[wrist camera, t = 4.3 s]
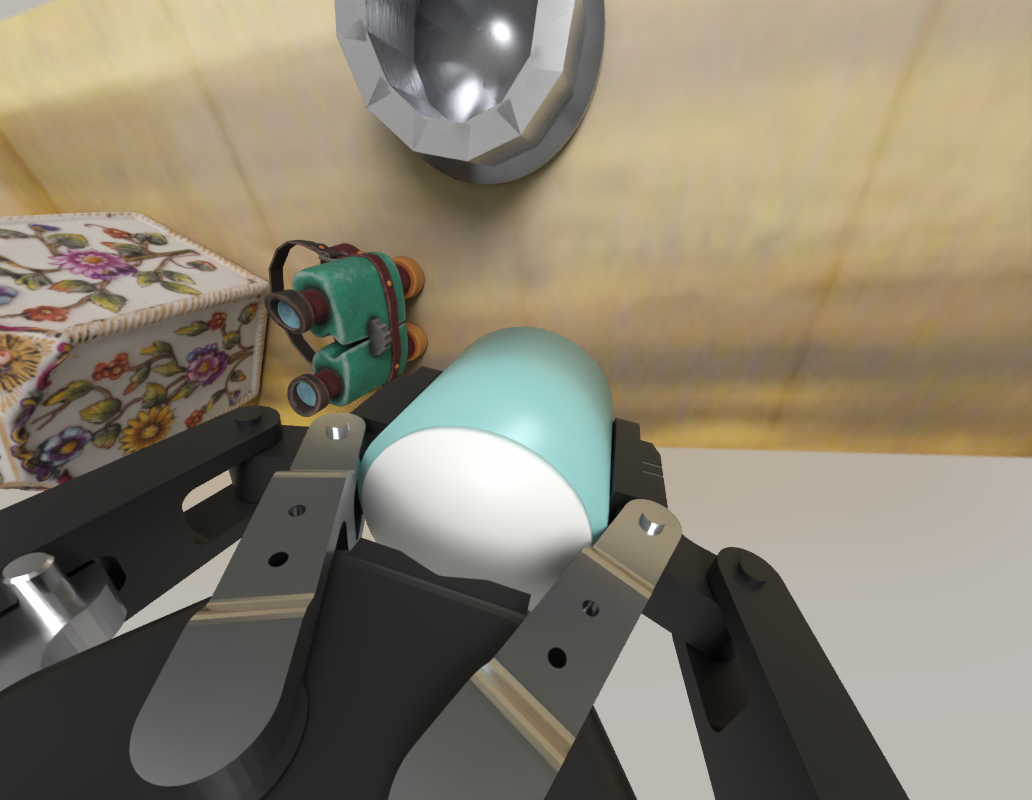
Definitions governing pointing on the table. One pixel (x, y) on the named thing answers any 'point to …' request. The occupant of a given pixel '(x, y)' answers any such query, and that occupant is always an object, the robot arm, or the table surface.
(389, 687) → the robot arm
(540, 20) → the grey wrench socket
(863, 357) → the table surface
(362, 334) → the binoculars
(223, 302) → the decorative jar
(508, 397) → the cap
